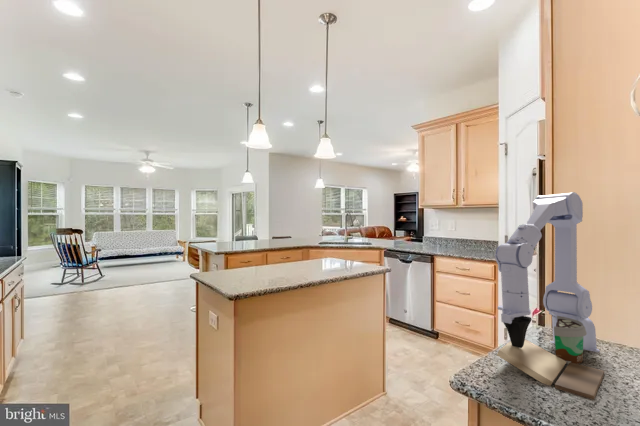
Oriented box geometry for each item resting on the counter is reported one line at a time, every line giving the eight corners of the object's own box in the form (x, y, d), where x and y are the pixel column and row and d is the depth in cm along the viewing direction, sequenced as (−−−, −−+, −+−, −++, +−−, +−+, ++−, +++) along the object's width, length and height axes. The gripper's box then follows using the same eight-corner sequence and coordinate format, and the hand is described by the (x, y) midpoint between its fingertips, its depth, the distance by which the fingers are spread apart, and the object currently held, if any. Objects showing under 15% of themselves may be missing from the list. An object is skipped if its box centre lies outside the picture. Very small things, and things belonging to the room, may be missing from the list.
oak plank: (564, 366, 76) (566, 361, 75) (549, 387, 66) (552, 381, 66) (515, 340, 83) (517, 335, 83) (496, 355, 74) (498, 350, 74)
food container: (589, 375, 72) (586, 332, 72) (556, 368, 76) (553, 327, 76) (588, 357, 81) (586, 319, 82) (559, 351, 85) (556, 315, 86)
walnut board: (570, 369, 75) (569, 362, 75) (604, 378, 70) (604, 370, 70) (555, 392, 65) (554, 384, 65) (594, 404, 61) (593, 395, 61)
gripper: (507, 285, 85) (509, 334, 85) (486, 293, 76) (489, 349, 75) (537, 288, 80) (540, 341, 79) (519, 298, 70) (522, 358, 70)
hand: (517, 346), depth 77 cm, fingers closed, pressing on oak plank
